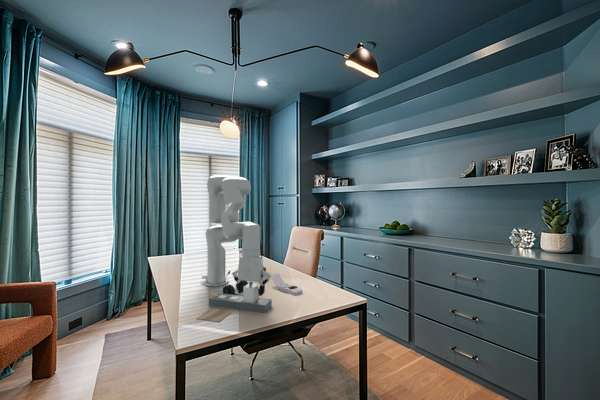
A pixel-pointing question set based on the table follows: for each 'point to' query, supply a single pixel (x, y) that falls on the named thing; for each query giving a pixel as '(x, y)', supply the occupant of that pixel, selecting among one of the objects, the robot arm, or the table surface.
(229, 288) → the headset
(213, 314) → the coaster
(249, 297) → the charger
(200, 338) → the table surface
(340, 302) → the table surface
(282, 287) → the light grey elongated piece
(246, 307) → the power strip
